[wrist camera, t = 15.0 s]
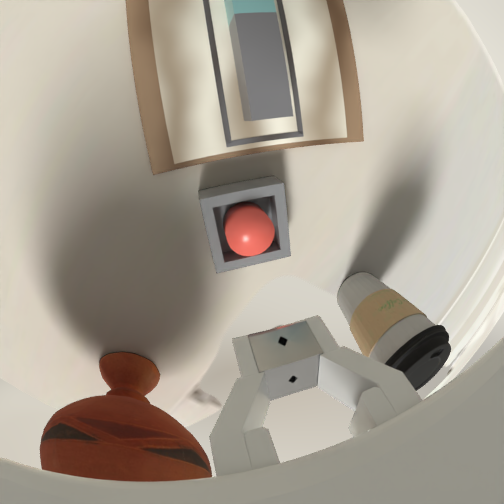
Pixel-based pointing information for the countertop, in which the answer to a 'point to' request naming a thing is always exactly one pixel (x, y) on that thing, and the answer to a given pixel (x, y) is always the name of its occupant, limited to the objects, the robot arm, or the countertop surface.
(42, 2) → the countertop surface
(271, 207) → the button housing
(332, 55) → the drawing board
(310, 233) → the countertop surface
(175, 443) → the goblet
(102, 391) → the countertop surface
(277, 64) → the block
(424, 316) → the coffee cup
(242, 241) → the button
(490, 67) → the countertop surface
